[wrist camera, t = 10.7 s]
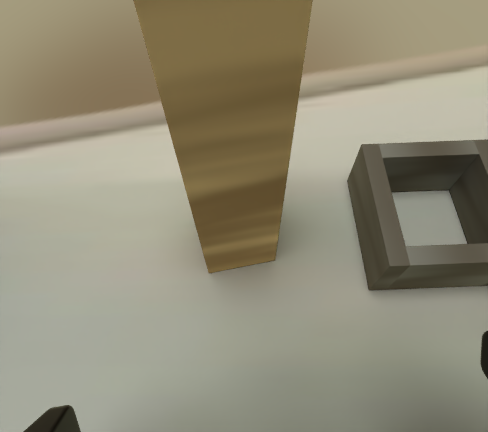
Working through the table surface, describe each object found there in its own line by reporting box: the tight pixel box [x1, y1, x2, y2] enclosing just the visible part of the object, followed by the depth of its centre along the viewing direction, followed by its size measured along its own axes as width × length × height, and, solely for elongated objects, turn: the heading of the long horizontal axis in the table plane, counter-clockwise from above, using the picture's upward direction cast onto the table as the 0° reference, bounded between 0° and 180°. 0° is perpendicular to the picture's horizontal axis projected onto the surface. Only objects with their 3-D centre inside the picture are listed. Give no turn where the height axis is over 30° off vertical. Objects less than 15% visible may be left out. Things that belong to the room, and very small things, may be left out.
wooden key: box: [133, 0, 313, 273], centre depth 12 cm, size 3×3×15 cm
